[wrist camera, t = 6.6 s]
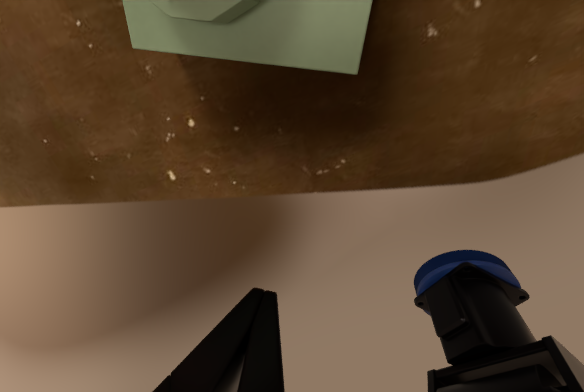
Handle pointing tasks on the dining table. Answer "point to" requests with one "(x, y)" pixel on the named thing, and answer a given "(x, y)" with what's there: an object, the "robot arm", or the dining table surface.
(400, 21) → the dining table surface
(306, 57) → the push button box
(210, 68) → the dining table surface
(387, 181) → the dining table surface
